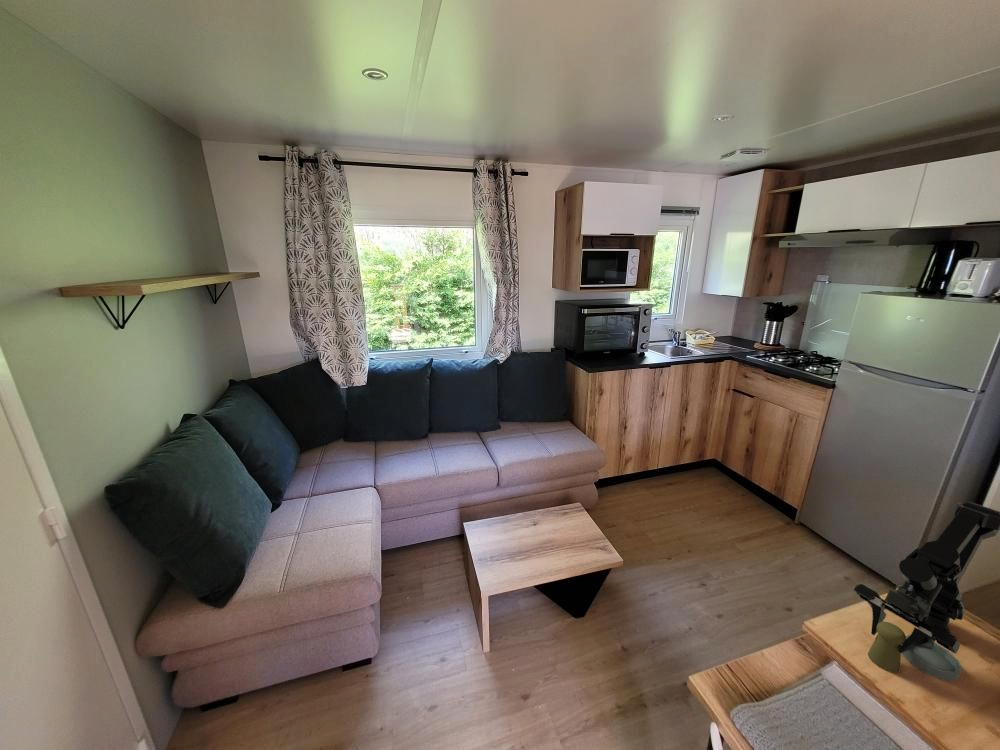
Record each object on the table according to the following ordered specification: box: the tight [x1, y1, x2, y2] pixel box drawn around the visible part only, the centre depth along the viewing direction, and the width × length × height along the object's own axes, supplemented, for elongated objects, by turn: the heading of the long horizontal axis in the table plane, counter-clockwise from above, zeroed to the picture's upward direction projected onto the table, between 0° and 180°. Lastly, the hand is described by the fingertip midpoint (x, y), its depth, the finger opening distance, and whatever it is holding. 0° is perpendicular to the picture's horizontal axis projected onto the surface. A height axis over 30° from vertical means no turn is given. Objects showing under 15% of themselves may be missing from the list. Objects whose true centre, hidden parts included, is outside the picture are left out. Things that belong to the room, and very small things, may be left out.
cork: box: [867, 620, 907, 674], centre depth 96 cm, size 6×6×11 cm
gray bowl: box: [901, 634, 963, 682], centre depth 97 cm, size 10×10×2 cm
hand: (885, 643), depth 96 cm, fingers closed on cork, 5 cm apart
